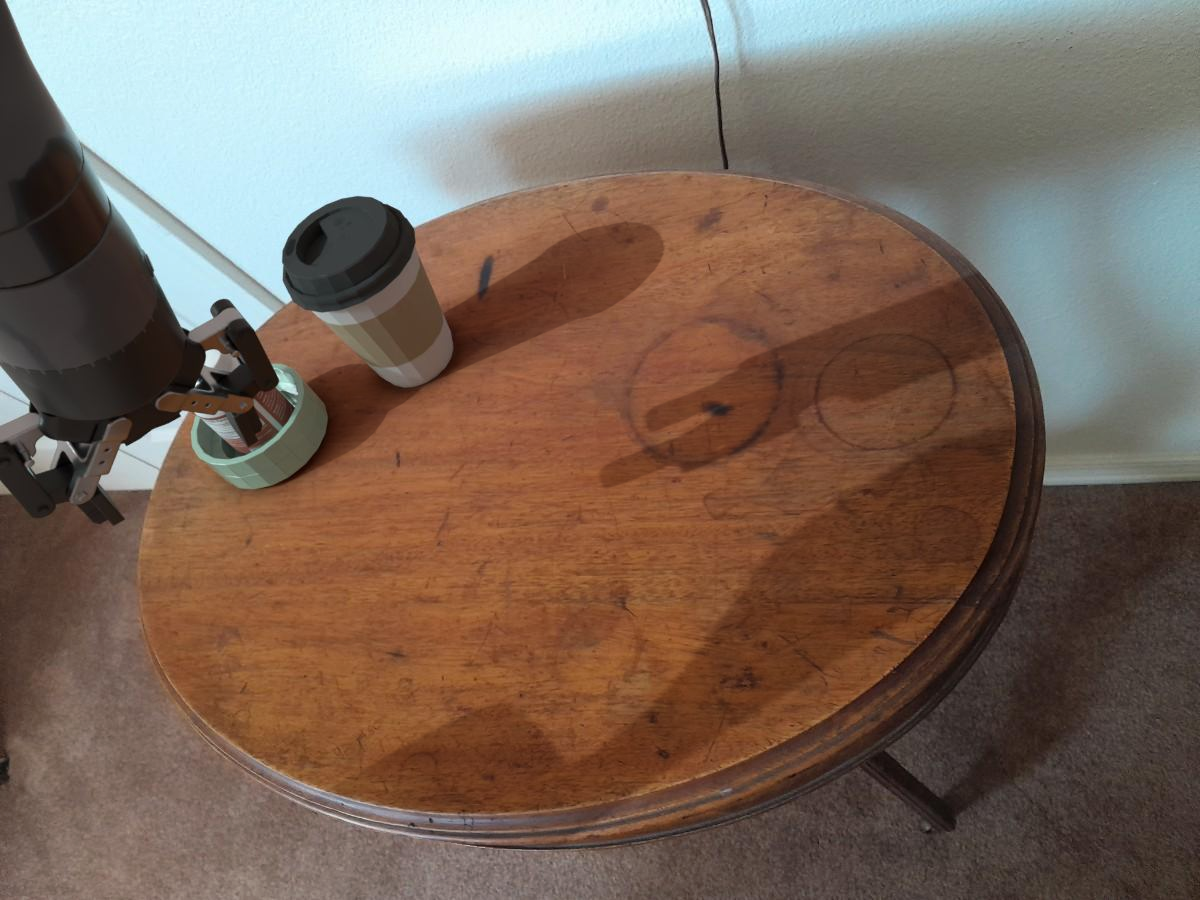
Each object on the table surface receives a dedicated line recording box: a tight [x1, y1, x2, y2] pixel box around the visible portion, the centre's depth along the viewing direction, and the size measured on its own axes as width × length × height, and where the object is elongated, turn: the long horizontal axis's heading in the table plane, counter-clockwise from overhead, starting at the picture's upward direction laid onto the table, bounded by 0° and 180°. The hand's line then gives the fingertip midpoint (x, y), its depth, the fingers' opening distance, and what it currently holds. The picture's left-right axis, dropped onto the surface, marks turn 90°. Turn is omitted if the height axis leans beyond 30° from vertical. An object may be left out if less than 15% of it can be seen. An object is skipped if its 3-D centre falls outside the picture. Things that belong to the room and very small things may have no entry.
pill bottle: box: [193, 349, 295, 456], centre depth 73 cm, size 6×6×11 cm
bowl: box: [190, 363, 329, 490], centre depth 76 cm, size 11×11×4 cm
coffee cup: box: [281, 195, 454, 388], centre depth 73 cm, size 11×11×15 cm
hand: (180, 472), depth 52 cm, fingers open, 8 cm apart
